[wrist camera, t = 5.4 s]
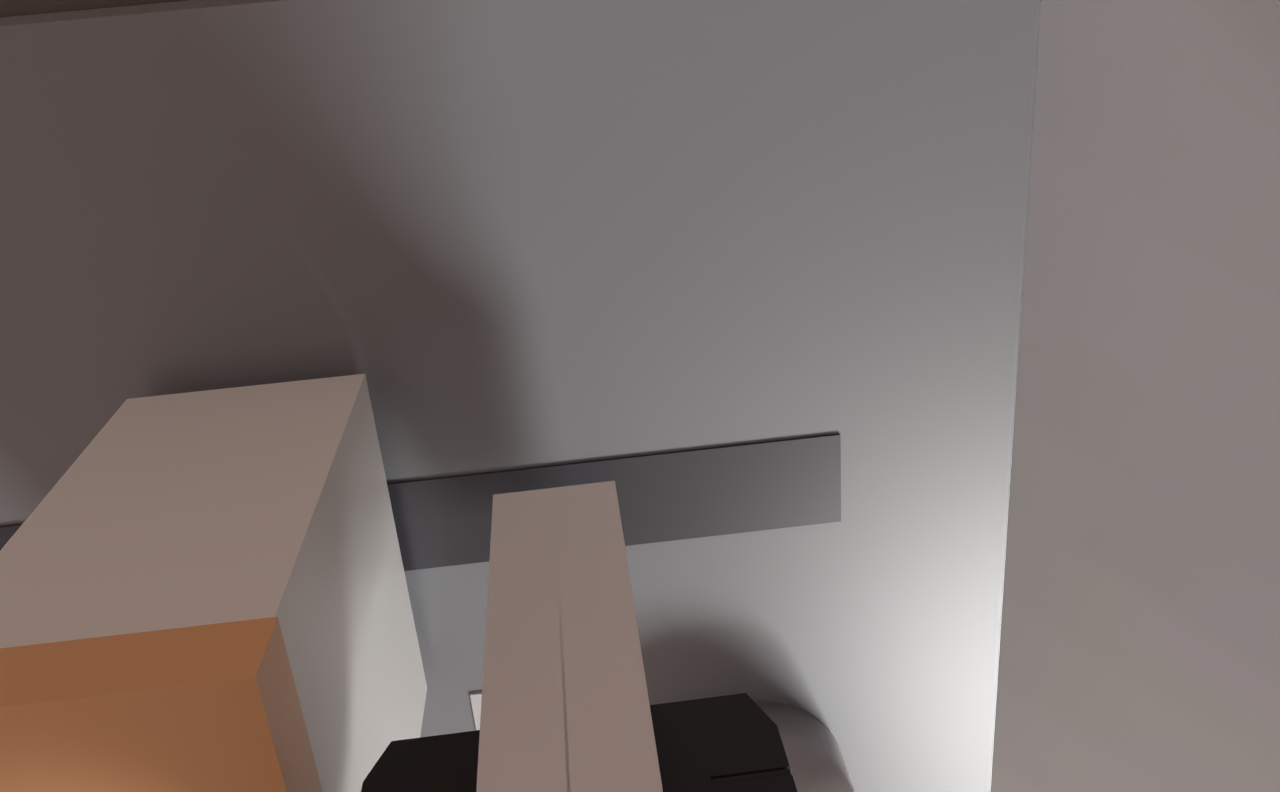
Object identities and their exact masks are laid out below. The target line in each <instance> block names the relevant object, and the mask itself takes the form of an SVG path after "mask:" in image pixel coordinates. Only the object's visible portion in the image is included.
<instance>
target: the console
mask: <svg viewBox="0 0 1280 792" xmlns="http://www.w3.org/2000/svg"><path fill="white" fill-rule="evenodd" d="M1040 3H1041V0H186V1H175V2H164V3H153V4H142V5H131V6H120V7H109V8H98V9H87V10H76V11H65V12H54V13H43V14H32V15H21V16H10V17H0V550H1V549H2V548H3V547H4V545H5V544H6V543H7V542H8V541H9V539H10V538H11V537H12V536H13V535H14V534H15V532H16V531H17V530H18V529H19V528H20V526H21V525H22V524H23V523H24V522H25V520H26V519H27V518H28V517H29V516H30V514H31V513H32V512H33V511H34V510H35V508H36V507H37V506H38V505H39V504H40V502H41V501H42V500H43V499H44V498H45V496H46V495H47V494H48V493H49V492H50V490H51V489H52V488H53V487H54V486H55V484H56V483H57V482H58V481H59V480H60V478H61V477H62V476H63V475H64V474H65V472H66V471H67V470H68V469H69V468H70V466H71V465H72V464H73V463H74V462H75V461H76V459H77V458H78V457H79V456H80V455H81V453H82V452H83V451H84V450H85V449H86V447H87V446H88V445H89V444H90V443H91V441H92V440H93V439H94V438H95V437H96V435H97V434H98V433H99V432H100V431H101V429H102V428H103V427H104V426H105V425H106V423H107V422H108V421H109V420H110V419H111V417H112V416H113V415H114V414H115V413H116V411H117V410H118V409H119V408H120V407H121V405H122V404H123V403H124V402H125V401H126V399H130V398H140V397H149V396H158V395H168V394H177V393H187V392H196V391H206V390H215V389H225V388H234V387H243V386H253V385H262V384H272V383H281V382H291V381H300V380H310V379H319V378H328V377H338V376H347V375H357V374H365V375H366V380H367V385H368V390H369V395H370V401H371V406H372V411H373V416H374V421H375V426H376V431H377V436H378V441H379V446H380V451H381V456H382V461H383V466H384V471H385V476H386V481H387V487H388V492H389V497H390V502H391V507H392V512H393V517H394V522H395V527H396V532H397V537H398V542H399V547H400V552H401V557H402V562H403V568H404V573H405V578H406V583H407V588H408V593H409V598H410V603H411V608H412V613H413V618H414V623H415V628H416V633H417V638H418V643H419V648H420V654H421V659H422V664H423V669H424V674H425V679H426V684H427V693H426V700H425V707H424V714H423V721H422V728H421V735H420V737H428V736H436V735H444V734H452V733H460V732H468V731H476V730H480V718H481V700H482V682H483V665H484V647H485V629H486V612H487V594H488V576H489V559H490V541H491V523H492V505H493V495H495V494H503V493H512V492H521V491H529V490H538V489H547V488H555V487H564V486H572V485H581V484H590V483H598V482H607V481H615V484H616V491H617V497H618V504H619V510H620V517H621V523H622V529H623V536H624V542H625V549H626V555H627V562H628V568H629V575H630V581H631V588H632V594H633V601H634V607H635V614H636V620H637V627H638V633H639V640H640V646H641V652H642V659H643V665H644V672H645V678H646V685H647V691H648V698H649V704H650V705H655V704H662V703H670V702H678V701H686V700H694V699H702V698H710V697H718V696H726V695H734V694H742V693H746V694H747V695H748V696H749V697H750V698H751V699H752V700H753V701H754V702H755V703H756V704H757V705H758V706H759V707H760V708H761V709H762V710H763V711H764V712H765V713H766V714H767V715H768V716H769V717H770V719H771V720H772V721H773V722H774V723H775V724H776V725H777V726H778V730H779V733H780V736H781V740H782V743H783V746H784V749H785V753H786V756H787V759H788V762H789V766H790V772H791V775H793V779H794V782H795V785H796V788H797V792H991V776H992V760H993V744H994V729H995V713H996V697H997V681H998V666H999V650H1000V634H1001V618H1002V602H1003V587H1004V571H1005V555H1006V539H1007V524H1008V508H1009V492H1010V476H1011V460H1012V445H1013V429H1014V413H1015V397H1016V382H1017V366H1018V350H1019V334H1020V318H1021V303H1022V287H1023V271H1024V255H1025V240H1026V224H1027V208H1028V192H1029V177H1030V161H1031V145H1032V129H1033V113H1034V98H1035V82H1036V66H1037V50H1038V35H1039V19H1040Z"/></svg>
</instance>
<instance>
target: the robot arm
mask: <svg viewBox="0 0 1280 792" xmlns="http://www.w3.org/2000/svg"><path fill="white" fill-rule="evenodd" d="M361 792H797V788H796V785H795V782H794V779H793V775H791V772H790V766H789V762H788V759H787V756H786V753H785V749H784V746H783V743H782V740H781V736H780V733H779V730H778V726H777V725H776V724H775V723H774V722H773V721H772V720H771V719H770V717H769V716H768V715H767V714H766V713H765V712H764V711H763V710H762V709H761V708H760V707H759V706H758V705H757V704H756V703H755V702H754V701H753V700H752V699H751V698H750V697H749V696H748V695H747V694H746V693H742V694H734V695H726V696H718V697H710V698H702V699H694V700H686V701H678V702H670V703H662V704H655V705H650V704H649V698H648V691H647V685H646V678H645V672H644V665H643V659H642V652H641V646H640V640H639V633H638V627H637V620H636V614H635V607H634V601H633V594H632V588H631V581H630V575H629V568H628V562H627V555H626V549H625V542H624V536H623V529H622V523H621V517H620V510H619V504H618V497H617V491H616V484H615V481H607V482H598V483H590V484H581V485H572V486H564V487H555V488H547V489H538V490H529V491H521V492H512V493H503V494H495V495H493V505H492V523H491V541H490V559H489V576H488V594H487V612H486V629H485V647H484V665H483V682H482V700H481V718H480V730H476V731H468V732H460V733H452V734H444V735H436V736H428V737H420V738H413V739H405V740H397V741H391V742H390V744H389V745H388V747H387V748H386V750H385V751H384V752H383V754H382V755H381V757H380V758H379V760H378V761H377V762H376V764H375V765H374V767H373V768H372V770H371V771H370V773H369V774H368V775H367V777H366V778H365V780H364V781H363V784H362V789H361Z"/></svg>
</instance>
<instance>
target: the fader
mask: <svg viewBox="0 0 1280 792" xmlns="http://www.w3.org/2000/svg"><path fill="white" fill-rule="evenodd" d="M426 693H427V684H426V679H425V674H424V669H423V664H422V659H421V654H420V648H419V643H418V638H417V633H416V628H415V623H414V618H413V613H412V608H411V603H410V598H409V593H408V588H407V583H406V578H405V573H404V568H403V562H402V557H401V552H400V547H399V542H398V537H397V532H396V527H395V522H394V517H393V512H392V507H391V502H390V497H389V492H388V487H387V481H386V476H385V471H384V466H383V461H382V456H381V451H380V446H379V441H378V436H377V431H376V426H375V421H374V416H373V411H372V406H371V401H370V395H369V390H368V385H367V380H366V375H365V374H357V375H347V376H338V377H328V378H319V379H310V380H300V381H291V382H281V383H272V384H262V385H253V386H243V387H234V388H225V389H215V390H206V391H196V392H187V393H177V394H168V395H158V396H149V397H140V398H130V399H126V401H125V402H124V403H123V404H122V405H121V407H120V408H119V409H118V410H117V411H116V413H115V414H114V415H113V416H112V417H111V419H110V420H109V421H108V422H107V423H106V425H105V426H104V427H103V428H102V429H101V431H100V432H99V433H98V434H97V435H96V437H95V438H94V439H93V440H92V441H91V443H90V444H89V445H88V446H87V447H86V449H85V450H84V451H83V452H82V453H81V455H80V456H79V457H78V458H77V459H76V461H75V462H74V463H73V464H72V465H71V466H70V468H69V469H68V470H67V471H66V472H65V474H64V475H63V476H62V477H61V478H60V480H59V481H58V482H57V483H56V484H55V486H54V487H53V488H52V489H51V490H50V492H49V493H48V494H47V495H46V496H45V498H44V499H43V500H42V501H41V502H40V504H39V505H38V506H37V507H36V508H35V510H34V511H33V512H32V513H31V514H30V516H29V517H28V518H27V519H26V520H25V522H24V523H23V524H22V525H21V526H20V528H19V529H18V530H17V531H16V532H15V534H14V535H13V536H12V537H11V538H10V539H9V541H8V542H7V543H6V544H5V545H4V547H3V548H2V549H1V550H0V792H361V789H362V784H363V781H364V780H365V778H366V777H367V775H368V774H369V773H370V771H371V770H372V768H373V767H374V765H375V764H376V762H377V761H378V760H379V758H380V757H381V755H382V754H383V752H384V751H385V750H386V748H387V747H388V745H389V744H390V742H391V741H397V740H405V739H413V738H420V735H421V728H422V721H423V714H424V707H425V700H426Z"/></svg>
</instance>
